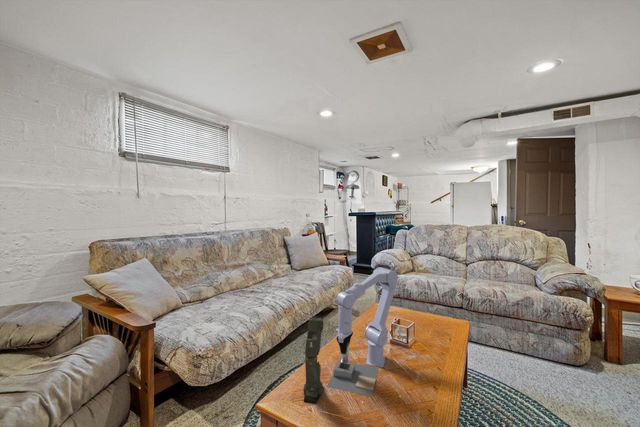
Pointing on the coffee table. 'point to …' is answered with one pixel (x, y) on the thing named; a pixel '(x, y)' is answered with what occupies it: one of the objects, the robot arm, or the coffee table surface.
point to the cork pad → (365, 383)
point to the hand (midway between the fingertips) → (344, 351)
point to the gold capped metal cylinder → (345, 356)
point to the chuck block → (344, 370)
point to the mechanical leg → (313, 361)
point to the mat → (355, 380)
